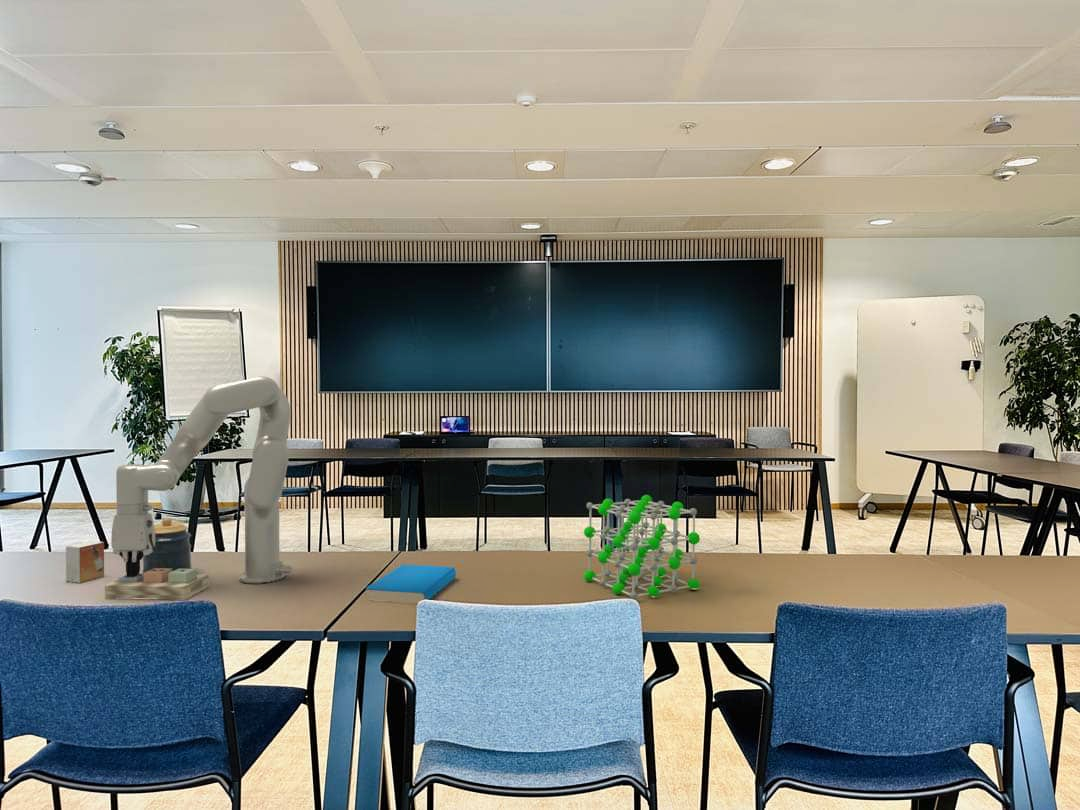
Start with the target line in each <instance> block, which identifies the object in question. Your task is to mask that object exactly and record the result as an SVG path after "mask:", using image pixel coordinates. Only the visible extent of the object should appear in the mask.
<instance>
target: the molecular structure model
mask: <svg viewBox="0 0 1080 810" xmlns="http://www.w3.org/2000/svg"><path fill="white" fill-rule="evenodd" d="M630 505H634V506H630ZM585 507H586V508H587V509H588V510H589V524H588V526H586V527H585V528H584V530H583V535H584V536H585V538H588V549H587V550H586V553H585V555H586V556H587V557H588V570H586V571H585V572H584V574H583V579H584V580H585V581H586V582H587V581H592V582H594V581H596V582H598V583H599V585H600V586H602V587H605V586H606V587H610V588H611V589H612V592H613V594H614V595H616V594H621V595H623V594H625V595H627V596H629V598H630V599H631V598H634V600H636V599H637V598H640V597H644V596H648V595H649V596H658V597H659V596H660V594H661V593H666V592H672V591H676V592H677V590H681V589H689V588H699V589H700V581H699V580H698V579H697V578H695V565H696V564H697V562H698V560H697V557H695V547H696V546H695V545H697V544H698V543H700V539H701V538H700V534H698V532H695V531H696V515H697V513H698V510H697V508H696V507H695V508H694V507H692V508H690V509H685V508H684V504H683V503H682V502H680V501H675V502H673V503H672V505H667V504H665V502H664V501H663V500H659V501H657V502H654V501H653V498H652V497H651V495H649V494H645V495H642V497H641V498H640V500H631V499H630V498H626V499H624V501H619V502H614V501H613V500H612V498H605V499H604V500H603V501H602V503H598V504H593V502H587V503H586V506H585ZM592 509H594V510H597V512H598V514H599V515H601V516H602V529H598V530H596V529H595V527H593V526H592V511H593V510H592ZM610 514H614V516H615V517H616V518H617V527H615V528H614V527H611V526H610ZM684 514H690V515H691V516H692V531H691V532H690V533H689V534H687V535H685V534H681V532H680V530H678V527H679V525H678V523H679V518H681V515H684ZM606 516H607V517H606ZM666 516H667V517H668V518H669V519H670V520H672V521H673V523H672V524H673V525H672V527H673V528H672V529H673V531H670V530H667V526H666V525H665V524H664V523H663V517H666ZM624 518H626V521H625V522H624V520H625V519H624ZM606 519H607V520H606ZM648 519H650V520H652V525H650V523H649V522H648ZM655 521H656V522H655ZM640 522H641V523H640ZM639 523H640V525H639ZM655 524H656V525H655ZM599 533H600V534H599ZM610 533H614V534H610ZM666 533H667V534H666ZM639 535H640V536H639ZM595 536H597V537H599V538H600V540H601V541H602V549H601V550H597V551H593V550H592V538H594V537H595ZM612 537H613V538H612ZM669 537H671V538H669ZM679 537H682V538H679ZM605 540H606V541H605ZM664 540H665V541H664ZM610 541H611V542H612V545H613V546H614V547H613V546H612V545H611V544H610ZM684 541H688V543H689V544H691V545H692V546H691V547H692V548H691V549H692V552H691V553H692V555H691V557H686V556H684V553H683V551H682V550H681V549H679V548H678V542H684ZM605 542H606V544H605ZM630 543H631V544H630ZM639 543H640V544H639ZM663 544H671V545H672V552H671V551H668V550H665V548H664V547H663V546H662V545H663ZM614 551H615V552H616V551H617V553H615V552H614ZM624 551H625V553H626V554H625V553H624ZM631 551H632V553H629V552H631ZM655 553H656V554H655ZM663 553H665V554H668V555H664V556H662V554H663ZM593 556H594V557H596V558H597V559H598V562H599V563H600V564H601V565H602V566H601V568H602V569H601V570H602V571H601V574H595V572H594V571H593V570H592V557H593ZM630 557H632V558H630ZM647 557H649V558H647ZM668 558H669V559H668ZM614 559H617V560H614ZM682 559H684V560H683V561H681V560H682ZM625 560H626V561H625ZM648 561H651V563H650V564H649V565H648ZM662 562H666V563H662ZM609 563H612V564H614V567H616V571H614V572H611V570H609V565H610V564H609ZM688 563H690V564H691V578H690V579H689V580H688V581H687V582H686V581H684V580H681V579H680V576H679V575H678V569H679V568H680V567H681V564H688ZM605 564H606V570H605ZM665 567H669V568H670V569H672V573H671V575H672V576H671V575H668V574H667V573H668V571H667V569H666V568H665ZM644 570H645V572H647V571H648V572H651V573H650V574H645V573H644ZM615 575H616V576H615ZM627 575H630V576H632V577H629V576H627ZM660 576H665V577H666V578H668V579H666V580H665V579H664V578H661V577H660ZM600 577H601V579H598V578H600ZM605 577H607V578H609V577H611V578H613V579H615V580H610V581H607V579H605ZM650 577H651V578H650ZM631 580H632V581H631ZM638 580H646V581H648V583H642V584H641V583H640V582H639V581H638ZM675 581H678V582H677V583H681V584H684V585H683V586H677V585H676V584H675V583H676V582H675ZM670 582H672V583H671V585H667V584H664V583H670ZM611 584H613V585H611ZM623 584H625V585H630V586H625V585H623ZM646 586H649V587H647V588H645V587H646ZM656 586H662V587H664V588H666V589H661V590H660V588H658V587H656ZM629 589H631V590H632V591H631V592H628V591H626V590H629ZM639 589H640V590H643V591H645V592H644V593H639V594H638V593H637V592H636V591H635V590H639ZM622 593H623V594H622ZM649 596H648V597H649Z"/></svg>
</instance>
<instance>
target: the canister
mask: <svg viewBox="0 0 1080 810" xmlns="http://www.w3.org/2000/svg"><path fill="white" fill-rule="evenodd" d="M154 529H155V546H154V547H152V550H153V553H151V554H149V555H145V556H144V557H143V558H142V574H144V572H147V571H149V570H152V569H154V568H172V571H175V570H177V569H192V559H191V558H192V557H191V556H192V553H191V552H192V551H191V549H192V548H191V547H192V545H191V543H190V538H191V536H192V534H191V533H190V532H188V531H187V530H188V529H189V527H188V526H187V525H185V524H183V523H181V522H173V521H172V519H171V518H170V517H164V518H163V519H162V520H161V523H156V524H154ZM144 551H145V550H144Z"/></svg>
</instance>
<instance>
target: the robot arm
mask: <svg viewBox="0 0 1080 810" xmlns="http://www.w3.org/2000/svg"><path fill="white" fill-rule="evenodd" d="M252 409H253V410H254V409H259V415H260V416H259V423H258V429H257V434H256V438H255V441H254V444H253V448H252V452H251V453H252V459H251V460H252V462H251V466H250V471H249V477H248V479H246V482H245V483H244V487H243V497H244V499H243V500H244V501H243V502H244V503H243V504H244V573H242V574H240V575H239V581H240V582H241V581H242V582H241V583H244V582H246V583H245V584H263V583H262V582H267V583H271V581H272V582H275V580H276V581H280V580H282V579H283V578H285V576H286V574H292V573H293V566H292V565H285V564H284V560H280V557H281V556H280V555H281V554H280V500H281V497H282V494H283V490H284V489H283V488H284V485H285V479H286V475H287V469H288V464H289V457H290V456H289V455H290V454H289V453H290V452H289V449H288V447H287V441H288V436H289V432H290V431H289V429H290V423H291V405H290V402H289V399H288V397H287V395H286V394H285V392H284V391H283V390H282V388H280V386H278V384H277V382H276V381H275V380H274V379H273V378H271V377H268V376H258V377H252V378H248V379H244V380H239V381H234V382H230V383H223V384H217V385H213V386H211V387H210V388H208V390H207V391H206V392H205V393H204V395H203V396H202V397H201V399H200V400H199V401H198V403H196V406H195V407H194V408H193V409H192V411H191V412H190V413H189V414H188V416H187V417H186V418H185V420H184V422H183V423H182V424H181V425H180V427H179V428H178V430H177V432H176V435H175V436H174V438H173V439H172V441H171V442H170V443H169V445H168V447H167V448H166V449H165V450H164V452H163V453H162V454H161V456H160V457H159V458H158V460H157V461H156V462H155V463H154V464H153V465H145V464H139V463H137V464H136V463H133V464H131V463H130V464H122V465H120V466H118V467H117V468H116V476H115V477H116V481H115V482H116V483H115V484H116V488H115V489H116V492H115V493H116V514H114V517H113V521H112V527H111V541H110V542H111V548H112V554H113V555H117V556H120V557H121V558H122V559H123V562H124V563H125V573H126V574H125V576H127V577H129V576H131V577H133V576H136V575H138V574H139V573H141V572H140V571H141V561H142V560H143V557H144V556H145V555H149V554H151V553H153V550H152V547H154V546H155V529H154V525H155V523H154V519H153V516H152V513H151V512H149V511H151V510H152V509H153V506H152V505H150V504H149V491H157V492H159V491H160V492H166V491H168V490H171V489H173V488H174V487H175V486H176V485H177V483H178V481H179V479H180V478H181V476H182V474H183V473H184V472H185V470H186V469H187V468H188V467H189V465H190V464H191V462H192V461H193V459H194V458H195V457H196V455H197V454H198V453H199V452H201V450H203V449H204V448H205V447H206V446H207V445H208V443H209V442H210V441H211V440H212V438H213V437H214V435H215V434H216V433H217V431H218V430H219V429H220V427H221V425H222V424H223V423H224V422H225V420H226V419H227V418H228V416H229V415H230V414H236V413H240V412H244V411H249V410H252ZM144 550H145V551H144ZM281 578H282V579H281ZM279 579H280V580H279Z"/></svg>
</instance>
